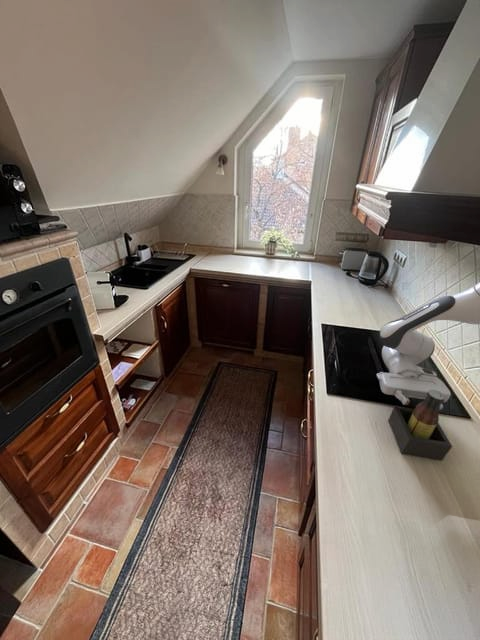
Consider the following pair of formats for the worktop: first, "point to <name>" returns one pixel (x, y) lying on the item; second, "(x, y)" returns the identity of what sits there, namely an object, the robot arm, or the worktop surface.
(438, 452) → the caddy
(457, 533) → the worktop surface
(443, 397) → the sauce bottle
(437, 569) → the worktop surface
